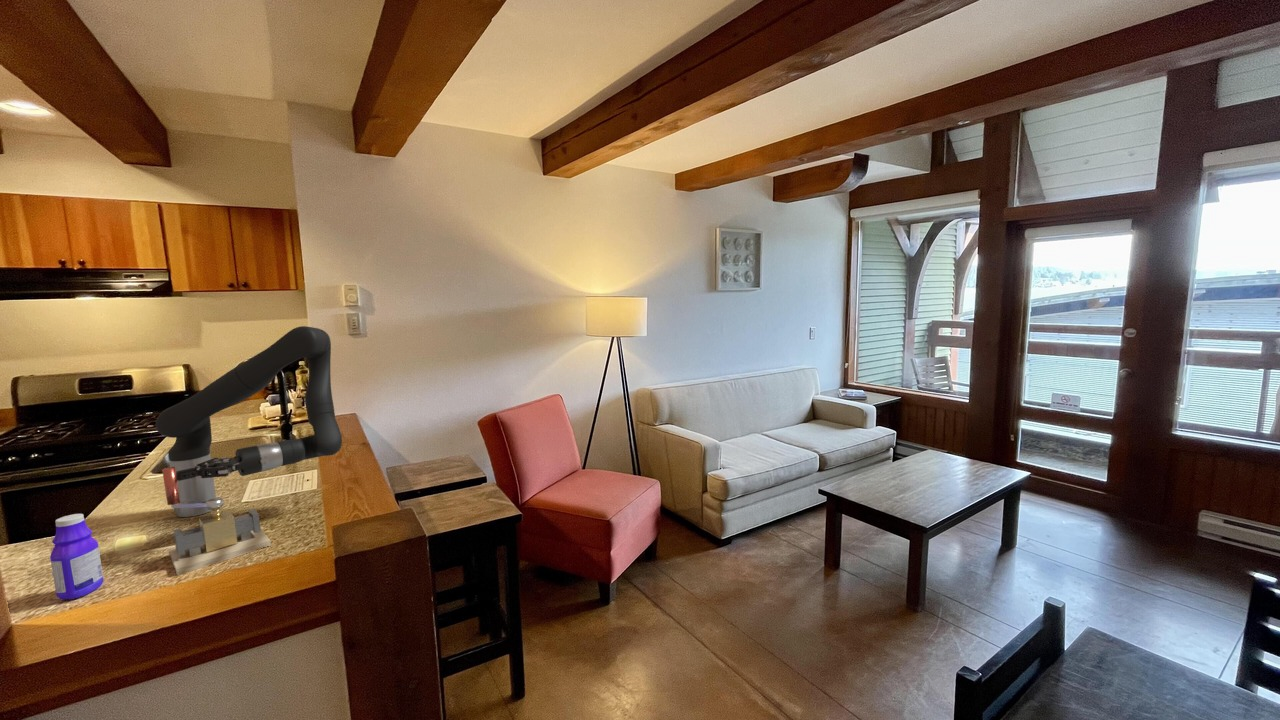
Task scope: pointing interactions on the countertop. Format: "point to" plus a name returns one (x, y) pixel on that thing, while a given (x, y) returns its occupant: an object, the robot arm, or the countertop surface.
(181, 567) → the valve board
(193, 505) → the valve lever
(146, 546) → the countertop surface
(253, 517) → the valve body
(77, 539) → the bottle
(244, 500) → the countertop surface
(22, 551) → the countertop surface
